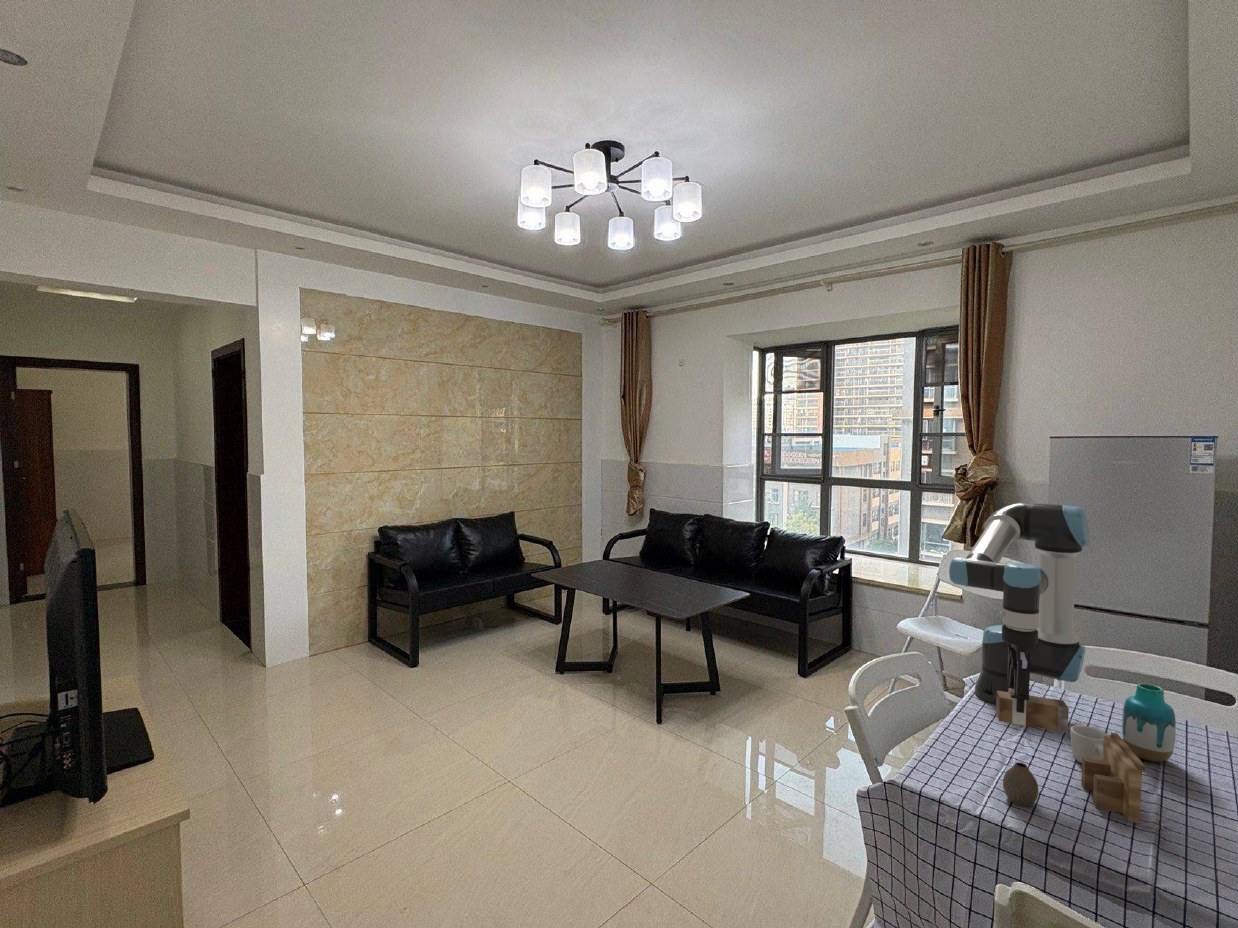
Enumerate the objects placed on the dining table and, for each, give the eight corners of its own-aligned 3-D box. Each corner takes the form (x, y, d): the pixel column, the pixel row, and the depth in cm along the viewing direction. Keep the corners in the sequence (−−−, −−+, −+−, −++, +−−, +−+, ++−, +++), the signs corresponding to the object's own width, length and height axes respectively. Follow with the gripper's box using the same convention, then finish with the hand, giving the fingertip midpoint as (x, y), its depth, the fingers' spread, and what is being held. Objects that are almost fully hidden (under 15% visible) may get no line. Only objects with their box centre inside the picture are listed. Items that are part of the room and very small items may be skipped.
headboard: (1077, 778, 150) (1079, 727, 149) (1114, 785, 147) (1117, 733, 147) (1100, 815, 135) (1103, 759, 135) (1143, 824, 132) (1145, 766, 132)
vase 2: (1169, 754, 161) (1172, 684, 161) (1178, 773, 153) (1181, 699, 152) (1118, 743, 167) (1121, 675, 166) (1123, 760, 158) (1127, 689, 158)
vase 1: (1011, 808, 138) (1012, 771, 137) (996, 791, 144) (998, 755, 144) (1044, 811, 137) (1045, 774, 136) (1028, 793, 143) (1029, 757, 143)
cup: (1121, 778, 150) (1123, 746, 150) (1085, 774, 152) (1086, 743, 151) (1096, 755, 161) (1098, 726, 160) (1063, 752, 162) (1064, 723, 162)
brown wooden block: (999, 721, 149) (1000, 697, 149) (995, 713, 154) (996, 690, 153) (1067, 732, 144) (1068, 708, 143) (1062, 724, 148) (1063, 700, 148)
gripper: (996, 615, 158) (993, 702, 159) (1008, 635, 142) (1005, 731, 143) (1030, 618, 155) (1026, 707, 156) (1047, 639, 139) (1043, 738, 140)
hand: (1016, 718), depth 150 cm, fingers closed on brown wooden block, 4 cm apart
